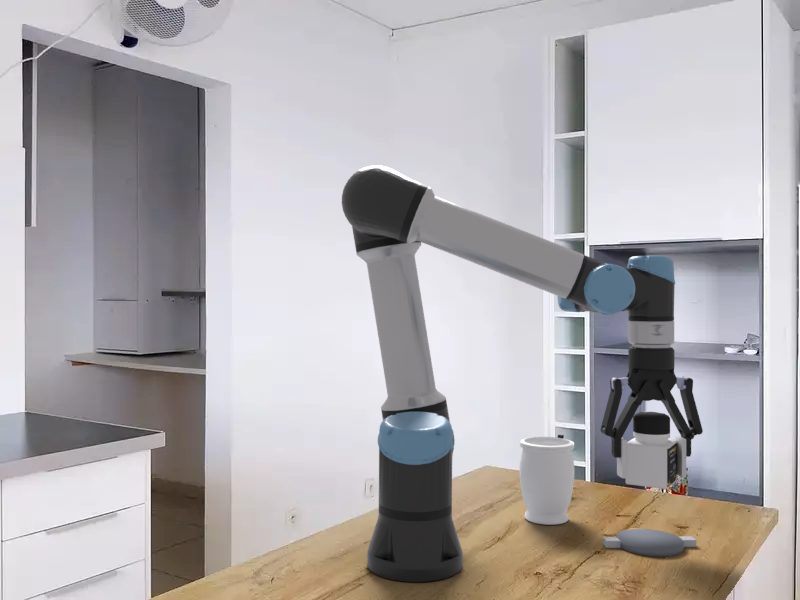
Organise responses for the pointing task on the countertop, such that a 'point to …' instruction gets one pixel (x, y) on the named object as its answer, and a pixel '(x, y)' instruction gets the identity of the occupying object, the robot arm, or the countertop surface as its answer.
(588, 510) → the countertop surface
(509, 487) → the countertop surface
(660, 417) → the medicine bottle
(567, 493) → the jar
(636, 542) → the pad
